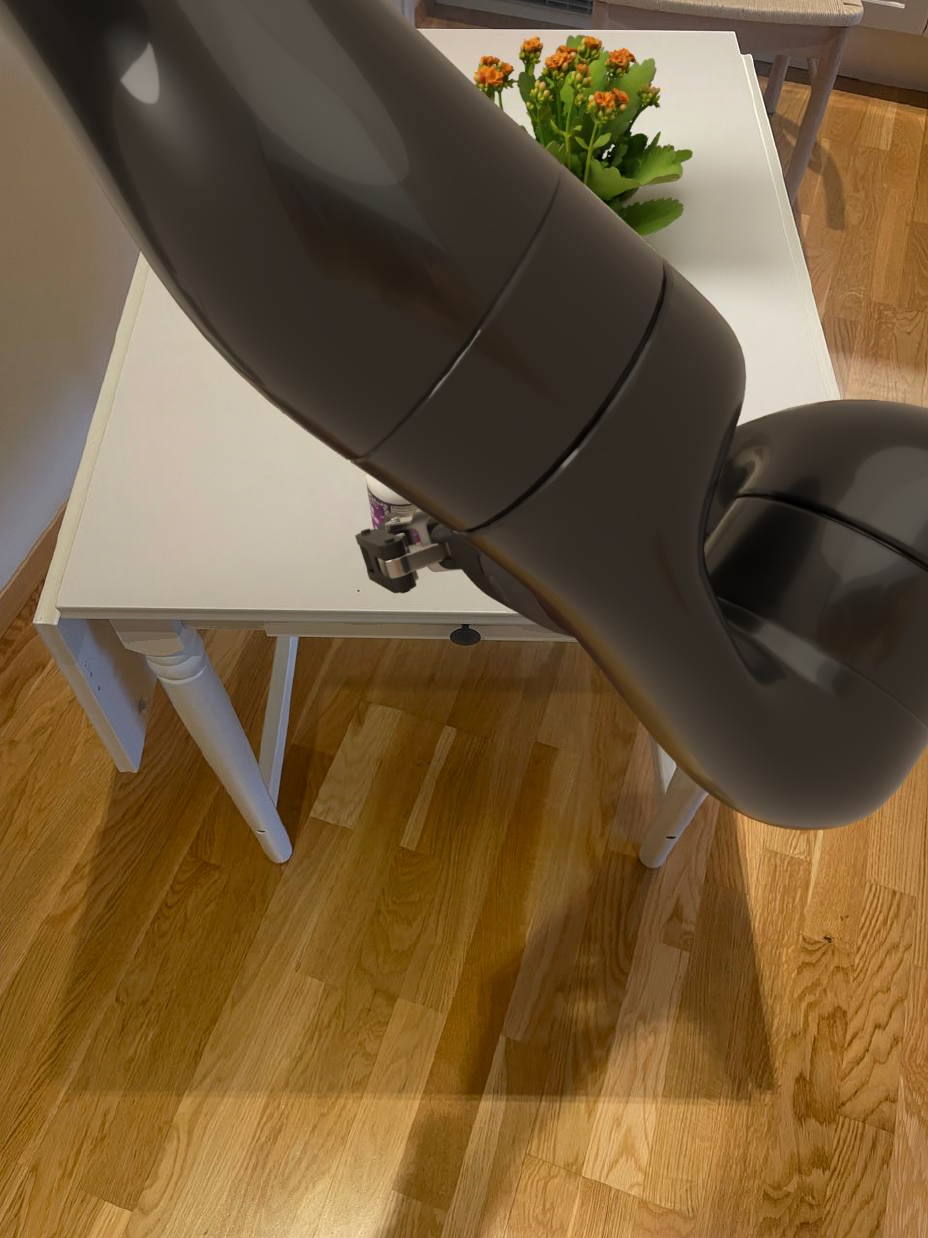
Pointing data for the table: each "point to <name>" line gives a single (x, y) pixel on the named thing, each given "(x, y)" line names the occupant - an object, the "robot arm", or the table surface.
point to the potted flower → (595, 122)
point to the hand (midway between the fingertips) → (459, 507)
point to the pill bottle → (387, 504)
